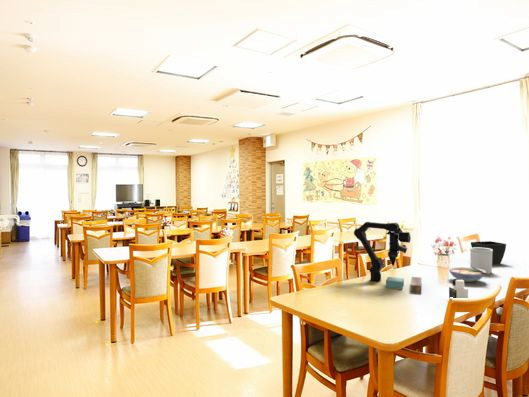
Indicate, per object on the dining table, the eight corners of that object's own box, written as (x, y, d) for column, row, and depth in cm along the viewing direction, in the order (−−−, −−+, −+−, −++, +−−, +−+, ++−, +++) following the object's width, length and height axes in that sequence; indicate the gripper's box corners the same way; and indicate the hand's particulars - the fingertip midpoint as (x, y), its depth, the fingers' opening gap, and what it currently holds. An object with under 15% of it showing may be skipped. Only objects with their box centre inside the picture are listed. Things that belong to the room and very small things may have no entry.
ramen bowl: (443, 276, 265) (443, 264, 265) (478, 277, 261) (478, 265, 260) (454, 285, 241) (454, 272, 241) (492, 286, 236) (492, 273, 236)
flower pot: (470, 261, 316) (469, 241, 315) (490, 260, 318) (490, 240, 317) (485, 265, 297) (485, 244, 296) (507, 264, 299) (507, 244, 298)
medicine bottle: (448, 298, 213) (448, 278, 212) (460, 298, 213) (460, 277, 213) (456, 302, 206) (456, 281, 205) (468, 301, 206) (468, 280, 206)
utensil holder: (496, 272, 274) (496, 248, 273) (487, 275, 265) (486, 251, 265) (476, 268, 286) (476, 246, 285) (466, 271, 278) (466, 248, 277)
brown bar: (410, 293, 227) (410, 284, 226) (411, 284, 247) (411, 276, 247) (421, 293, 224) (421, 285, 224) (421, 284, 244) (421, 277, 244)
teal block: (385, 288, 239) (385, 280, 238) (388, 284, 248) (387, 276, 247) (402, 289, 234) (402, 281, 234) (403, 285, 243) (403, 278, 243)
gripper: (405, 244, 237) (405, 268, 238) (407, 240, 254) (407, 262, 255) (387, 243, 242) (387, 266, 242) (390, 239, 259) (390, 261, 259)
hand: (393, 264), depth 249 cm, fingers open, 9 cm apart
